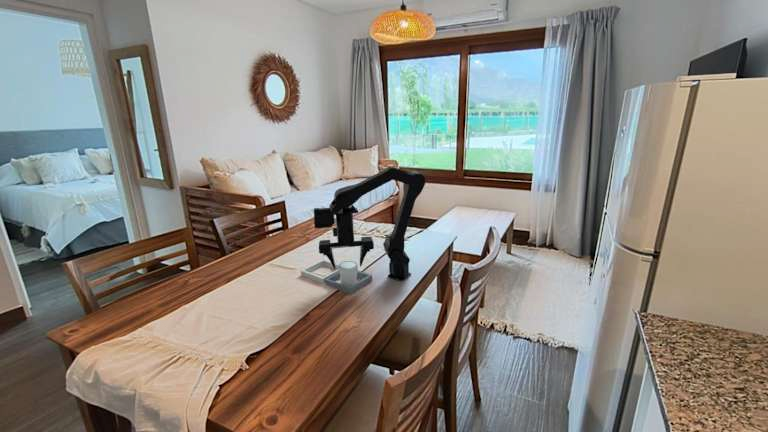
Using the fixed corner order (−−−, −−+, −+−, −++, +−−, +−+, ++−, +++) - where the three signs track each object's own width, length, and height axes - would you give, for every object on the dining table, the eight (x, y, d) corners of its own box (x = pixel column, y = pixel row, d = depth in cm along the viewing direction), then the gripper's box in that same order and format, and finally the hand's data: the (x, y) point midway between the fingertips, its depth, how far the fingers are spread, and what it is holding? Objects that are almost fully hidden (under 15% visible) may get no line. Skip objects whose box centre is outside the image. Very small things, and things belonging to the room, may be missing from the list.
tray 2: (372, 279, 126) (372, 274, 126) (350, 294, 117) (350, 288, 116) (347, 271, 133) (347, 267, 132) (325, 284, 124) (324, 279, 123)
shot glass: (357, 287, 122) (356, 268, 119) (338, 287, 122) (336, 269, 120) (359, 277, 128) (358, 260, 126) (341, 277, 128) (340, 260, 126)
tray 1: (345, 271, 134) (345, 266, 133) (323, 283, 124) (322, 278, 124) (324, 263, 140) (323, 259, 140) (301, 275, 131) (300, 270, 131)
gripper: (369, 216, 127) (371, 255, 132) (318, 220, 125) (321, 260, 130) (373, 226, 117) (374, 268, 122) (317, 230, 114) (320, 273, 119)
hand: (347, 267), depth 123 cm, fingers open, 9 cm apart
